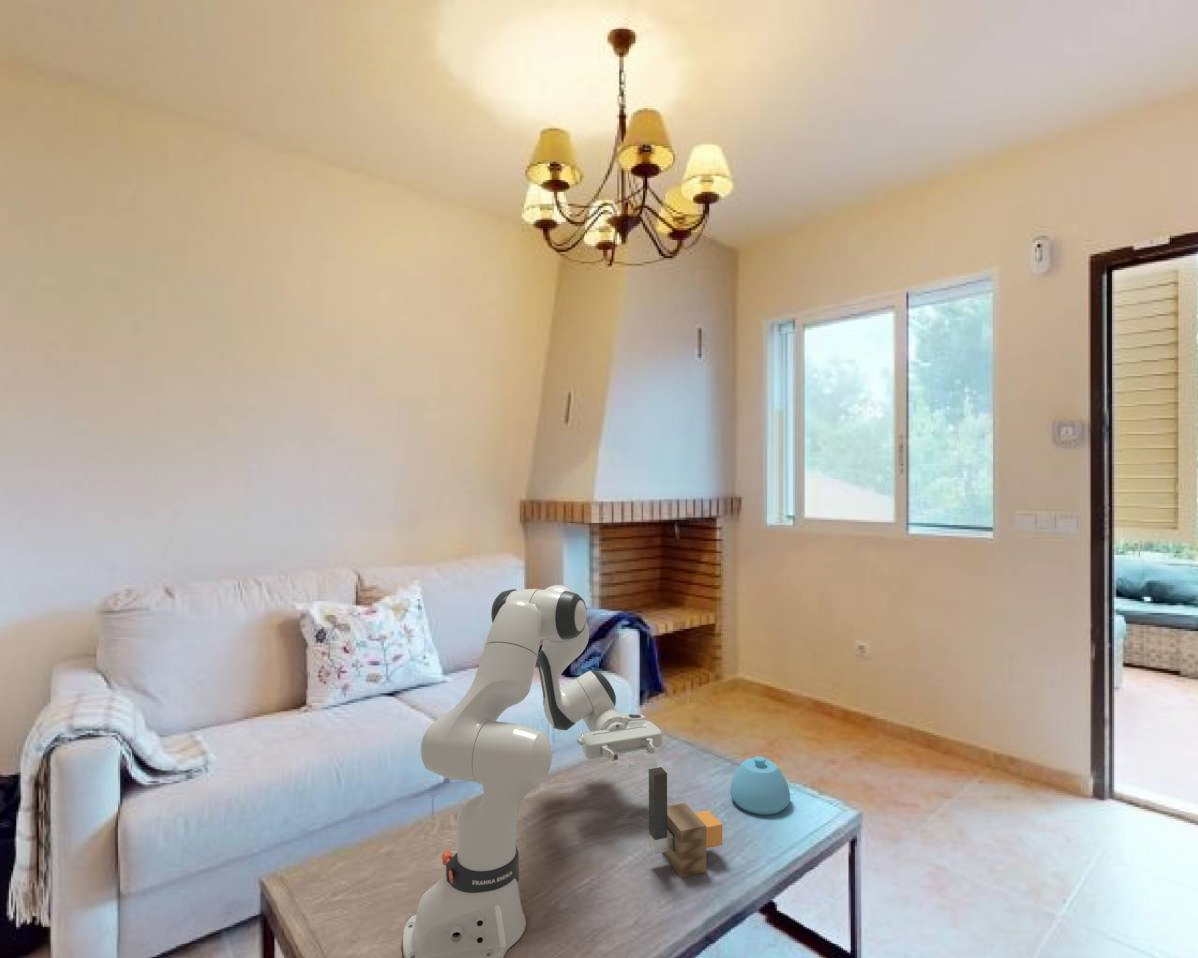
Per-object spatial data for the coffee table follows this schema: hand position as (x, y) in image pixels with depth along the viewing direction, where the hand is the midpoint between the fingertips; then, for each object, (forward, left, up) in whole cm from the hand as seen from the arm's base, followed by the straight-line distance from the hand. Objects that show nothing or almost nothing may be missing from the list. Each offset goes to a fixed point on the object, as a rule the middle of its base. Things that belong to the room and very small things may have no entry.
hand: (633, 753), depth 152 cm
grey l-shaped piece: (+6, -14, -15) cm, 21 cm away
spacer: (+12, -14, -15) cm, 24 cm away
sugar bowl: (+36, +2, -19) cm, 41 cm away
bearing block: (+6, -14, -19) cm, 24 cm away
